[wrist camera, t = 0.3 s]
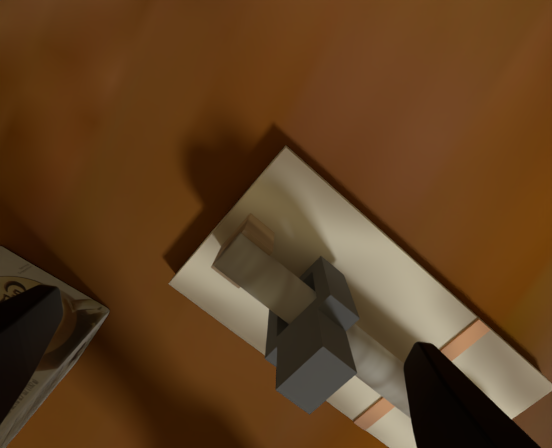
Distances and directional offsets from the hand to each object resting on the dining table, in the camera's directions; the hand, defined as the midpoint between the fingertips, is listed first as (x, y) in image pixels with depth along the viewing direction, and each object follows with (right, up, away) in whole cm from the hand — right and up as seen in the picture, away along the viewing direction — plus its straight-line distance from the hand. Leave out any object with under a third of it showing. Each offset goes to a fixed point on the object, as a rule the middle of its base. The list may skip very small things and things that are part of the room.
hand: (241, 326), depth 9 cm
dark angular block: (+3, -2, +14) cm, 14 cm away
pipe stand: (+7, -5, +17) cm, 19 cm away
